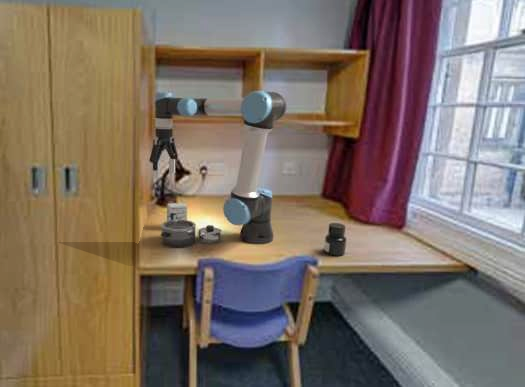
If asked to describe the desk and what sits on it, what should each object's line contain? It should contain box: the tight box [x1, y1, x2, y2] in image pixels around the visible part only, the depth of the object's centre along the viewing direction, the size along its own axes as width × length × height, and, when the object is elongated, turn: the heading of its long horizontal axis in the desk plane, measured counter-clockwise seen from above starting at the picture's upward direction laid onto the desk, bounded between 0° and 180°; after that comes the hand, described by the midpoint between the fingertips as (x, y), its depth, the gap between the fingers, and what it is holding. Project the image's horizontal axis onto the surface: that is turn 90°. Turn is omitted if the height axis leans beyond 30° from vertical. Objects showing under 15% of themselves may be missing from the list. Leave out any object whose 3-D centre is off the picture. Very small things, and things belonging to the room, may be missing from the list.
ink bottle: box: [323, 222, 347, 257], centre depth 174 cm, size 10×9×12 cm
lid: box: [197, 224, 222, 245], centre depth 181 cm, size 10×10×6 cm
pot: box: [160, 219, 197, 249], centre depth 176 cm, size 18×14×8 cm
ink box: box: [166, 202, 188, 221], centre depth 193 cm, size 9×5×12 cm, turn 114°
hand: (164, 175), depth 190 cm, fingers open, 13 cm apart
